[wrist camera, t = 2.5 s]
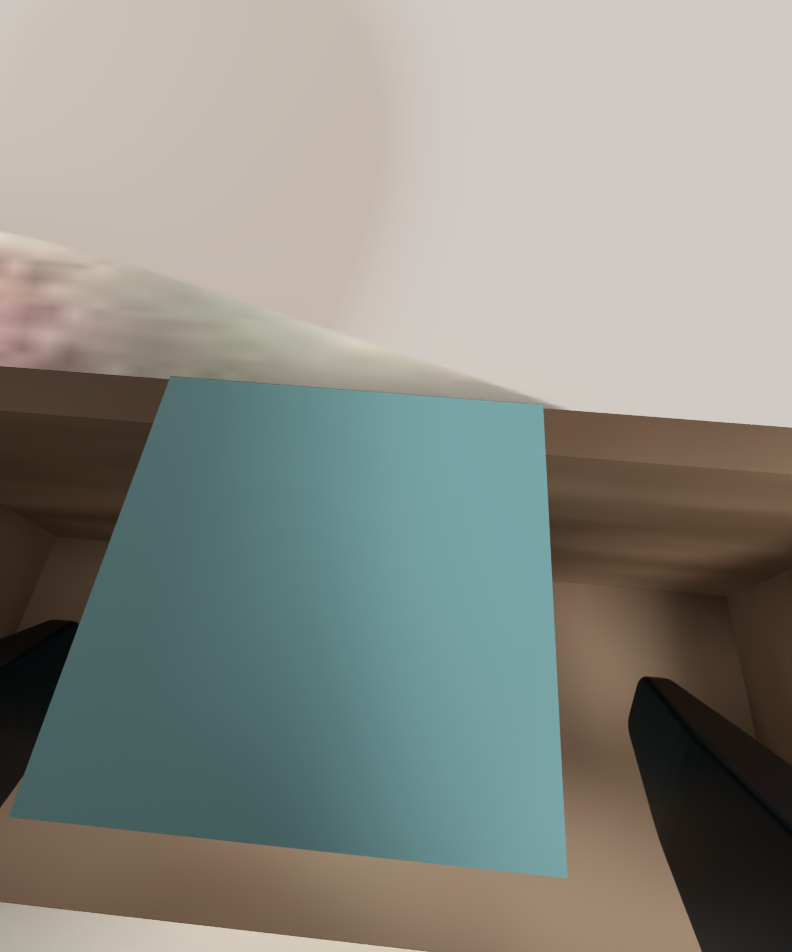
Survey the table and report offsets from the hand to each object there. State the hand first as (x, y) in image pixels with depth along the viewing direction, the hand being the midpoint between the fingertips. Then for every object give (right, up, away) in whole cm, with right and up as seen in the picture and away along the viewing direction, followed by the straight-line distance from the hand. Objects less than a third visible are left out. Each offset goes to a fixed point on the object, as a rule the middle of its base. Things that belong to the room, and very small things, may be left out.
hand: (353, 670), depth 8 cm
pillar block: (0, -3, +6) cm, 7 cm away
